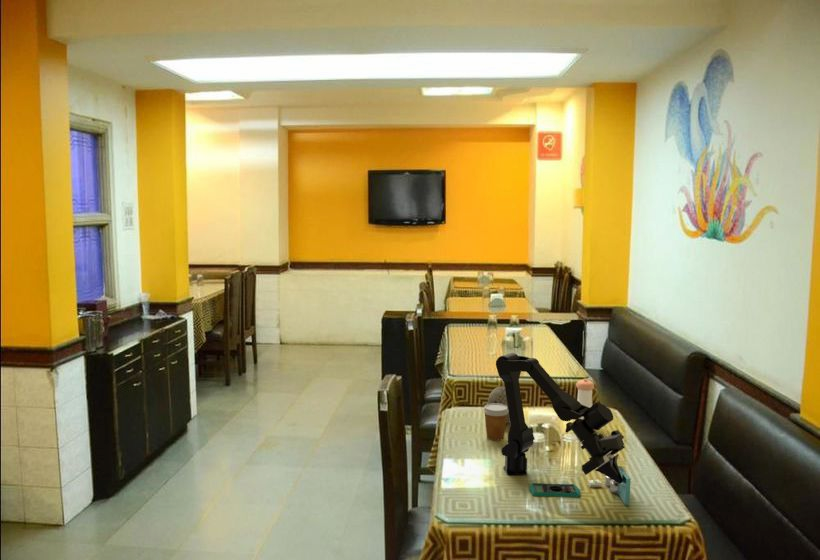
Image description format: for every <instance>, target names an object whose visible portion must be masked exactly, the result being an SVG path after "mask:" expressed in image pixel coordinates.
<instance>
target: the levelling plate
mask: <svg viewBox="0 0 820 560" xmlns="http://www.w3.org/2000/svg"><path fill="white" fill-rule="evenodd" d="M604 476H605V477H604V485H605V487H607V488H610V480H612V479H611V478H609V477H608V476H606V475H604ZM587 485H588V487H589V488H602V485H603V484H602V481H600V479H588V480H587Z"/></svg>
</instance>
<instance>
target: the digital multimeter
mask: <svg viewBox="0 0 820 560" xmlns="http://www.w3.org/2000/svg"><path fill="white" fill-rule="evenodd" d="M529 492H530V494H531V495H532V496H533V497H555V498H556V497H562V498H563V497H565V498H580V497H581V490H580V488H579V487H578V486H577V485H575V484H572V483H570V484H569V483H541V482H540V483H538V482H531V483H530V484H529Z"/></svg>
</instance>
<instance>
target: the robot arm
mask: <svg viewBox="0 0 820 560" xmlns="http://www.w3.org/2000/svg"><path fill="white" fill-rule="evenodd" d="M539 361H540V360H538V359H537V358H535V357H529V356H524V355H518V354H517V353H515V352H511V353H507V354H504V355H500V356H499V357H497V359H496V360H495V366H496V371H497V373H498V376H499V378H500V379H501V380H502V381H503V385H504V387H505V392H506V399H507V405H508V412H509V418H510V421H509V424H510V425H509V430H508V432H507V433H508V434H507V443H506V444H505V445H503V447H502V448H501V449H500V451H501V454H502V456H503V457H504V466H503V469H504V472H505V473H506V474H507V476H517V475H518V476H520V475H527V474H528V473H527V470H528V458H527V457H526V453H528V452H529V450H530V448H532V446H533V445H534V440H536V438H535V436H534V428H533V427H529V426H528V425H527V423H526V418H525V413H524V406H523V399H522V398H523V397H522V393H521V388H520V387H521V385H520V376H521V374H522V372H524V373H525V372H526V373H527V374H528V376H529V377H530V378H531V379H532V380H533V381H534V382H535V384H536V385H537V386H538V388H540V390H541V391H542V392H543V394H545V396H547V397H548V399H549V401H550V402H551V405H552V409H553V410H554V412H555V414H556V415H557V417H558V418H559V419H560V420H561V421H562V422H567V423H566V424H565V427H566V428H565V430H564V431H565V433H569V432H571V431H572V433H574V436H576V438H577V440H579V442H580V444H582V445H581V446H580V448H581V450H582V451H583V450H585V451H586V452H587V453H588V455H589V456H590V457H589V458H588V459H589V460H588V461H586V462H585V463H583V464H582V465H581V471H582V472H583V473H584V475H585V476H586V475H588V474H589V473H592V471H595V472H598V473H600V474H602V475H604V476H605V475H606V476H608V477H609V478H611V479H613V480H614V481H616V482H618V483H619V484H620V483H622V482H623V479H622V476H621V474H620V471H619V468H618V466H619V465H618V457H619V454H617V453H619V452H621V451H622V450H623V449H625V442H624V440H623V439H624V438H625V436H624V435H623V434H622V433H621V432H620V431H619V430H618V429H614V430H612V431H611V432H610V435H608V436H604V435H603V433H602V432H600V433H598V432H597V431H600V430H601V429H602V428H604V427H605V426H607V424H610V423H611V422H612V421H613V420H614V414H613V412H612V410H611V409H610V408H609V407H608V406H606V405H605V404H602V403H601V402H600V400H599V401H596V402H594V403H592V406H591V407H590V408H589V407H587V406H584V405H582V404H580V402H579V401H577V399H576V398H575V397H574V396H573V395H571V394H570V393H568V392H566V391H564V390H563V389H562V388H561V387H560V386H559V385H558V382H556V381H555V380H554V379H553V378H552V376H551V375H550V374H549V373H548V372H547V371H546V369H545V368H544V367H543V366H542V365H541V364H540V362H539ZM581 417H584V419H583V420H582V419H579V418H581ZM572 420H574V421H572ZM571 421H572V422H571Z"/></svg>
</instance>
